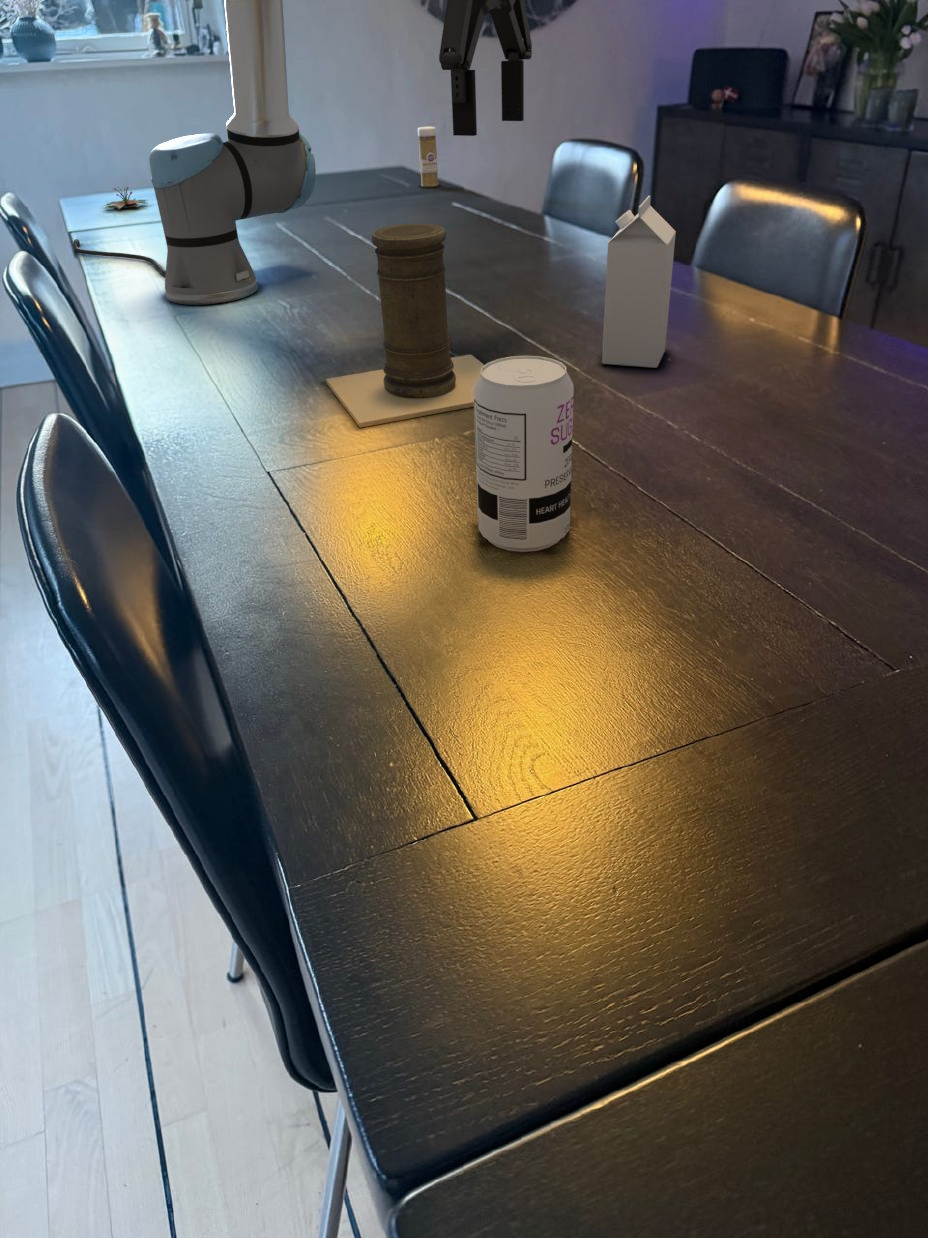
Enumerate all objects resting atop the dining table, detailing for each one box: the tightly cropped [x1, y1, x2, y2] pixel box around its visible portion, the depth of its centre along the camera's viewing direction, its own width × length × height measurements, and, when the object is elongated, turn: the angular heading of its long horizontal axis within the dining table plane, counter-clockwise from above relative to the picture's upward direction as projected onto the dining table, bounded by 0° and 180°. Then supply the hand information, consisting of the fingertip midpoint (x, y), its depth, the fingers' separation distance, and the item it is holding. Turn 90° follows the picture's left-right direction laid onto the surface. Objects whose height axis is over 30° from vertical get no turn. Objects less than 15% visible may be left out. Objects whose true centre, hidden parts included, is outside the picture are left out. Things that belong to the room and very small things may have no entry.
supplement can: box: [473, 355, 575, 553], centre depth 77 cm, size 8×8×15 cm
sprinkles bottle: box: [417, 125, 439, 189], centre depth 226 cm, size 5×5×13 cm
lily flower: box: [102, 186, 148, 210], centre depth 222 cm, size 12×12×5 cm
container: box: [371, 223, 456, 398], centre depth 106 cm, size 9×9×18 cm
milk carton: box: [601, 195, 677, 369], centre depth 112 cm, size 7×7×19 cm
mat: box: [325, 354, 485, 429], centre depth 111 cm, size 16×20×1 cm
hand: (490, 127), depth 109 cm, fingers open, 13 cm apart
